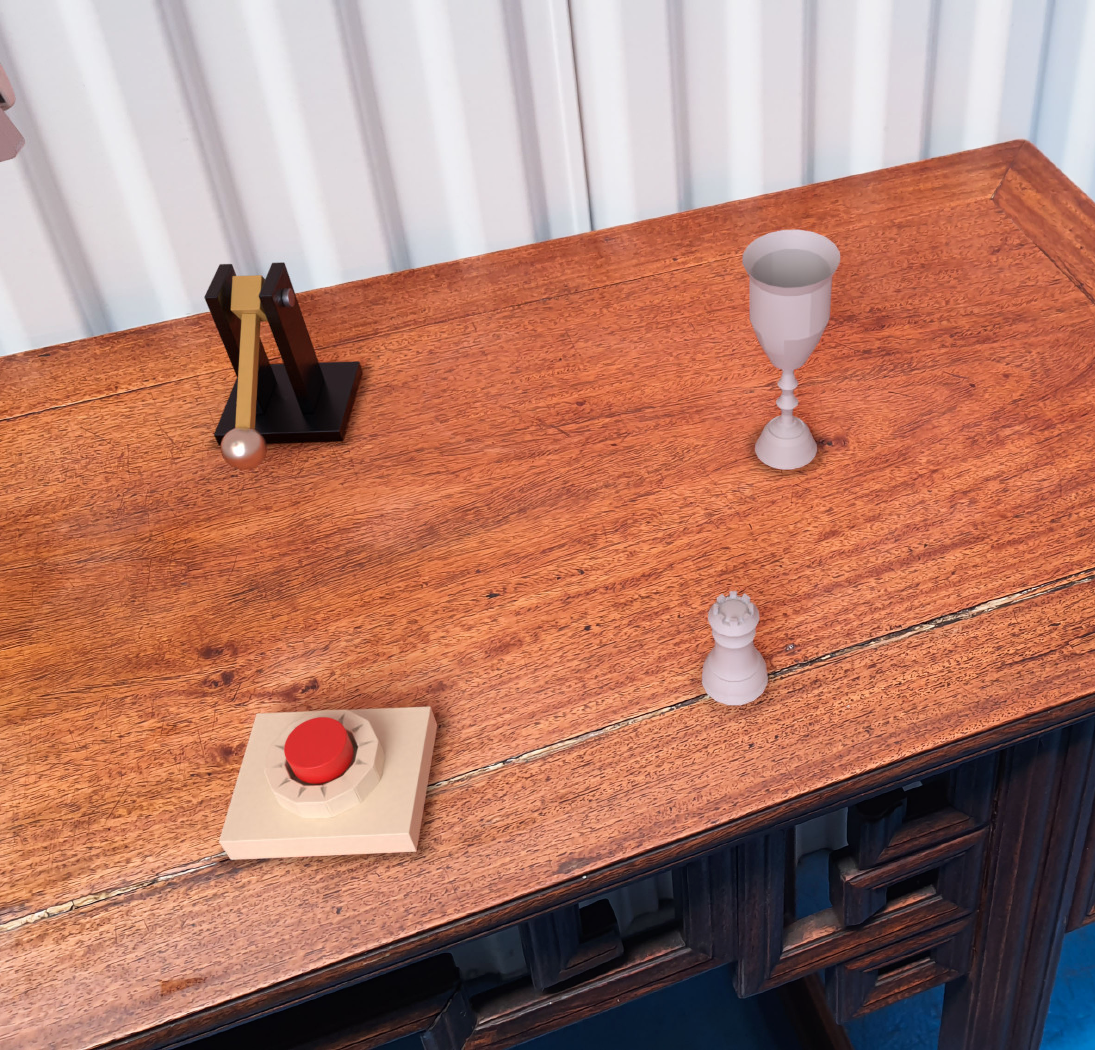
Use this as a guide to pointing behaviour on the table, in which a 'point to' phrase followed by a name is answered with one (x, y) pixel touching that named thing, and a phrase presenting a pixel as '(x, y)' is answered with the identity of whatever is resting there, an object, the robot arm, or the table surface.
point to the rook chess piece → (734, 652)
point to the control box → (333, 788)
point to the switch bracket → (284, 368)
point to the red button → (319, 750)
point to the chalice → (789, 327)
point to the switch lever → (246, 376)
